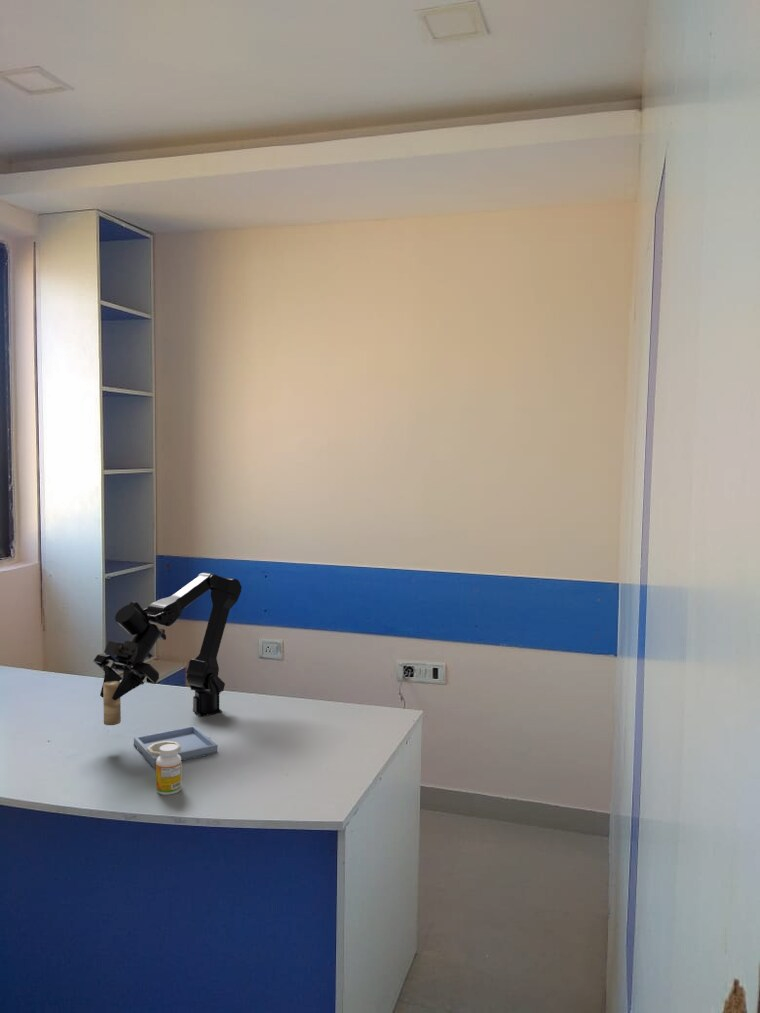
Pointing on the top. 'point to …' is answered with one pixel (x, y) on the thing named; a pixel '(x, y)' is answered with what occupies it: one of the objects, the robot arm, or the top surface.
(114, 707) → the peg
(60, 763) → the top surface
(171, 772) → the supplement bottle
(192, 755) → the tray
